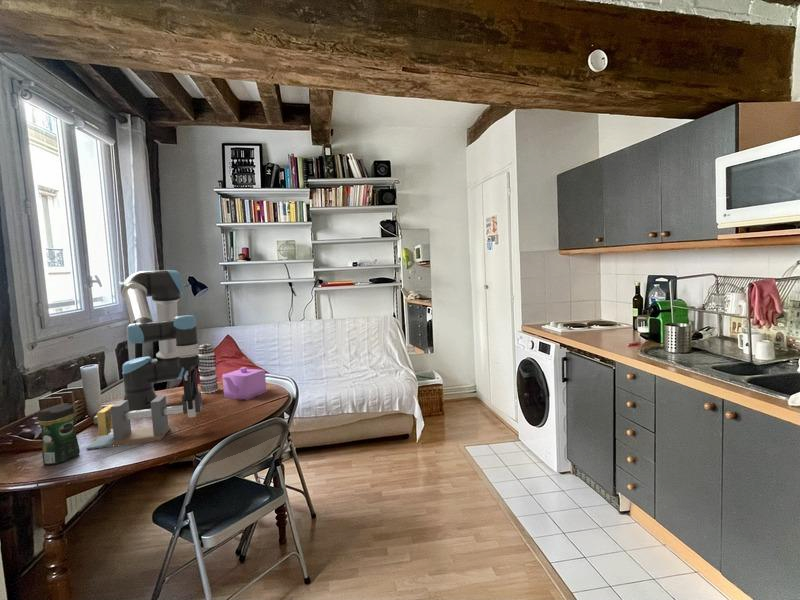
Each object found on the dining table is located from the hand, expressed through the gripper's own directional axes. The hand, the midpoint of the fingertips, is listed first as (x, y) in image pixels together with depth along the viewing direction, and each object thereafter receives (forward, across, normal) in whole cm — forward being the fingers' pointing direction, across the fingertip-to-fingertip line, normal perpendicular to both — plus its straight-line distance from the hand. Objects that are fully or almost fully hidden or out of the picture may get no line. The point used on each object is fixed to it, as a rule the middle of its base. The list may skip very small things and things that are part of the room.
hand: (193, 414), depth 164 cm
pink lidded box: (+7, +44, -14) cm, 47 cm away
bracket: (+6, 0, +18) cm, 19 cm away
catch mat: (+6, 0, +30) cm, 31 cm away
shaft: (-1, 0, +15) cm, 15 cm away
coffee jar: (+6, -12, +39) cm, 41 cm away
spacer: (+2, 0, +29) cm, 29 cm away
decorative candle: (+6, +61, +5) cm, 62 cm away
